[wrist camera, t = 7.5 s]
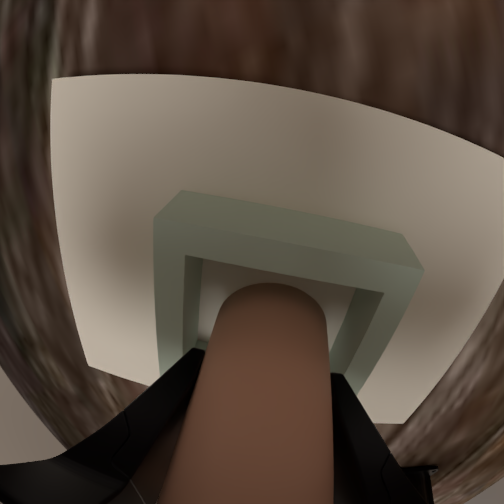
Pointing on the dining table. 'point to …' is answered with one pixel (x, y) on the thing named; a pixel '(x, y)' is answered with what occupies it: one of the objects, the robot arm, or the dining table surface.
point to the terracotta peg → (259, 406)
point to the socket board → (271, 224)
